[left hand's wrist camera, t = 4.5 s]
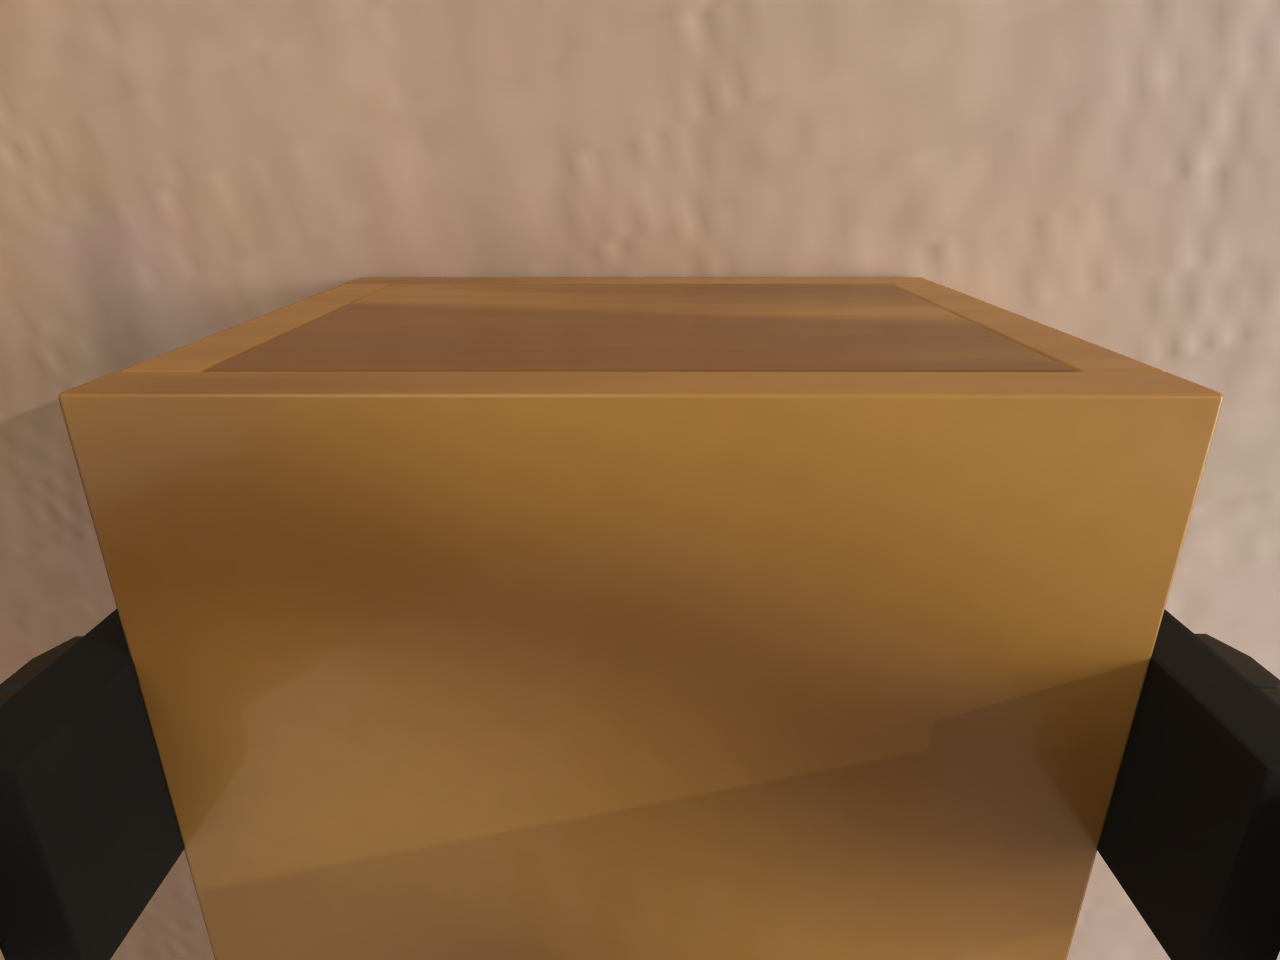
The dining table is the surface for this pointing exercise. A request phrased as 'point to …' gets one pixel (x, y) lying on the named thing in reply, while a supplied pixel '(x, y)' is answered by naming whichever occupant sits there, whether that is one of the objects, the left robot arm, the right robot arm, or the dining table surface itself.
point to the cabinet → (641, 614)
